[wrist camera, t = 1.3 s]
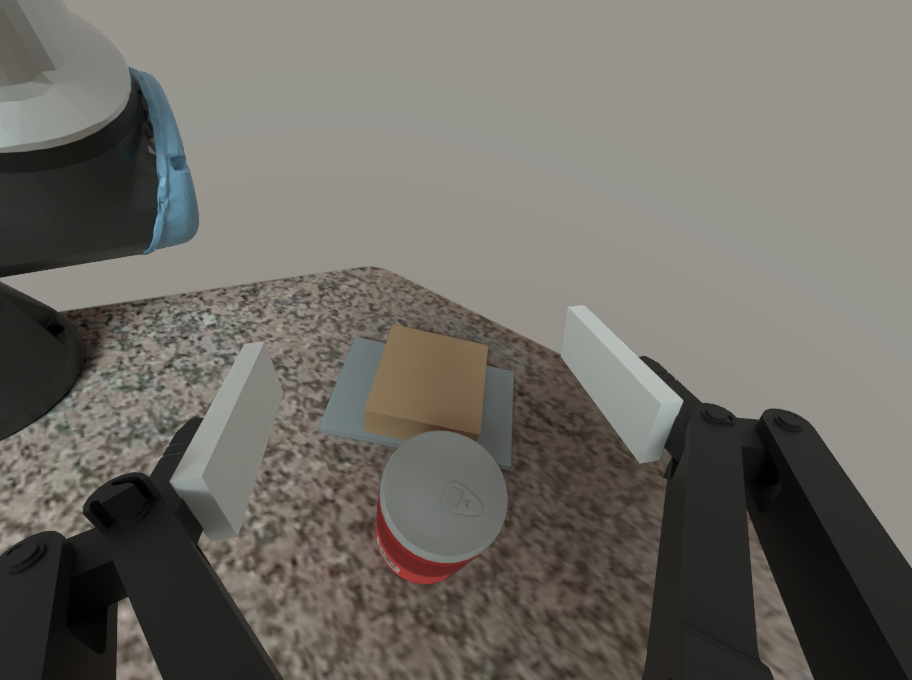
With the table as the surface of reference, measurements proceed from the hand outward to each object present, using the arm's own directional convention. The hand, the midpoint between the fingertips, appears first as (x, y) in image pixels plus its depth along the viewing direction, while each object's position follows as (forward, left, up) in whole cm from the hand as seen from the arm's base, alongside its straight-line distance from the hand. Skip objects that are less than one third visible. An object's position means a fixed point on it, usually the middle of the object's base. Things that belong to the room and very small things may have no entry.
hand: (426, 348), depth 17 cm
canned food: (+3, -2, -21) cm, 21 cm away
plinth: (+1, +10, -21) cm, 23 cm away
